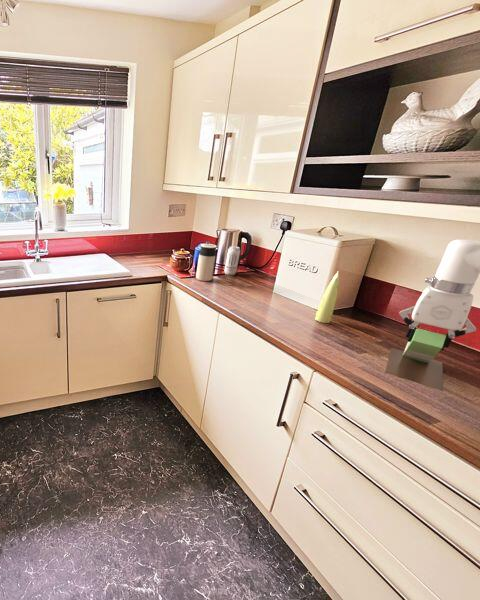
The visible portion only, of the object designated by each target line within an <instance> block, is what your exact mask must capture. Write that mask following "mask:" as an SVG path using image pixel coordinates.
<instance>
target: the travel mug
mask: <svg viewBox="0 0 480 600" xmlns="http://www.w3.org/2000/svg"><path fill="white" fill-rule="evenodd" d="M200 246H201V247H200V248H201V249H200V250H199V252H198V253H199V254H198V260H197V265H196V266H197V267H196V272H195V279H196V280H198V281H201V282H210V281H212V280H213V274H214V269H215V263H216V256H217V252H216V249H217V245H216V244H214V243H213V244H212V243H202V244H200Z"/></svg>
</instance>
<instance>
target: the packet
mask: <svg viewBox="0 0 480 600" xmlns="http://www.w3.org/2000/svg"><path fill="white" fill-rule="evenodd" d="M445 338H446V334H441V333H438V332H434V331H430V330H425V329H421V328H416V331H415V334H414V336H413V338H412V340H411V342H408V341H407V343H406V345H405V348H404V353H403V356H405V357H409V358H412V359H416V360H419V361H423V362H426V363H429V362H430V361H432V359H433V360H434V359H435V357H436V356H437V355H438V354H439V353H440V351H442V350H441V349H442V347H443V344H444V341H445Z"/></svg>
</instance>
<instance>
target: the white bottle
mask: <svg viewBox="0 0 480 600" xmlns="http://www.w3.org/2000/svg"><path fill="white" fill-rule="evenodd" d="M240 254H241V249H240V246H235V245H230V246H229V248H228V249H227V254H226V258H225V265H224V274H225V275H227V276H235V275H236V273H237V270H238V266H239V265H238V264H239V260H240V256H241V255H240Z"/></svg>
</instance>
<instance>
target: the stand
mask: <svg viewBox="0 0 480 600" xmlns="http://www.w3.org/2000/svg"><path fill="white" fill-rule="evenodd" d="M403 353H404V351H403V350H401V349H397V348H393V347H391V348H390V351H389V354H388V360H387V363H386V366H385V370H384V371H385V372H384V373H385V374H388V375H391V376H395V377H397V378H400V379H404V380H407V381H409V382H412V383H416V384H419V385H423V386H426V387H429V388H431V389H436V390H439V391H442V392H444V373H443V372H444V371H443V370H444V369H443V368H444V367H443V361H440V360H436V359H434V358H433V359H432V361H430V362H429V363H426V362H423V361H419V360H416V359H412V358H409V357H405V356H403Z"/></svg>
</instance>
